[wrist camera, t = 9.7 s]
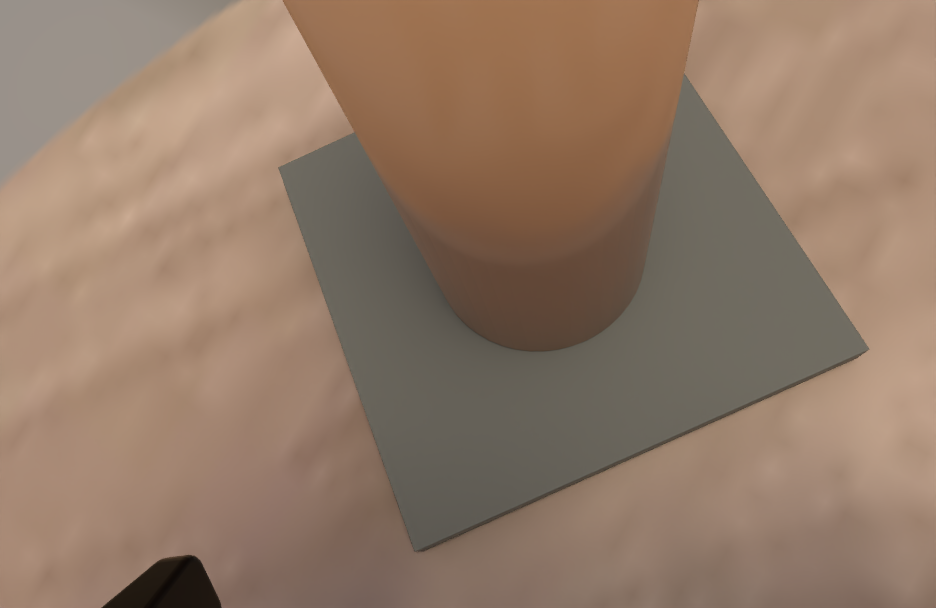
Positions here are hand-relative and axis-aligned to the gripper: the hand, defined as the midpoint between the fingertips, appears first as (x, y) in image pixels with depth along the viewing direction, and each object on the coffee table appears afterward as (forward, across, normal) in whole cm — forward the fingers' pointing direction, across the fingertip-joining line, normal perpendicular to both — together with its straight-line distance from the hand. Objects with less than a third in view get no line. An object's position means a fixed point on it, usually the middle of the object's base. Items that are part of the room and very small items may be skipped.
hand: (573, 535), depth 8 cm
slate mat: (+11, 0, +1) cm, 11 cm away
